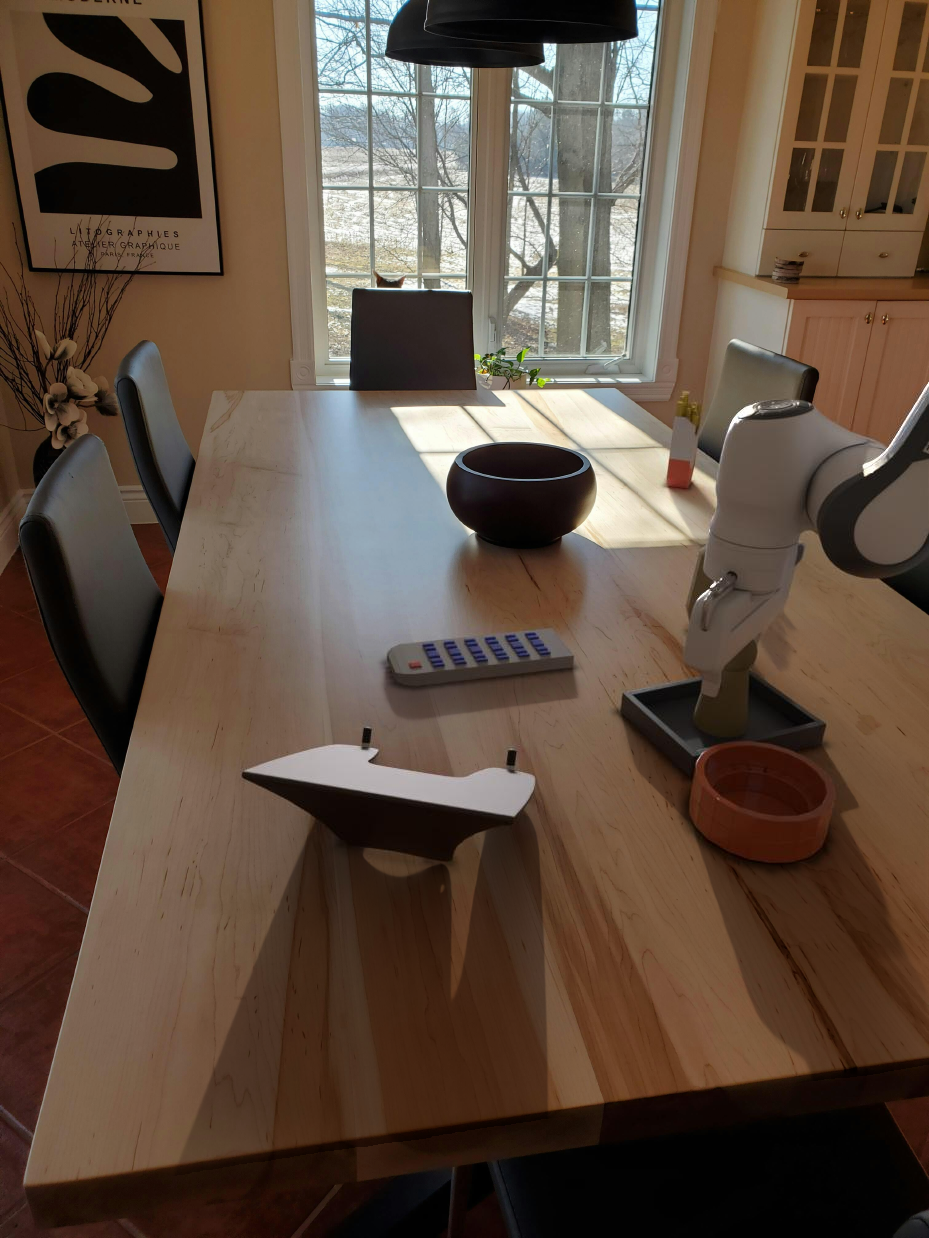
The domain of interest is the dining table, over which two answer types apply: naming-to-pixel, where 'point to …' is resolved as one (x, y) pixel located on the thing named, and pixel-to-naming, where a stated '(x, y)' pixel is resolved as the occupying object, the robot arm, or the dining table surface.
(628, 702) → the tray
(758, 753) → the bowl
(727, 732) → the olive green bottle
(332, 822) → the laptop tray
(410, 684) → the remote control
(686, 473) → the french fries container
